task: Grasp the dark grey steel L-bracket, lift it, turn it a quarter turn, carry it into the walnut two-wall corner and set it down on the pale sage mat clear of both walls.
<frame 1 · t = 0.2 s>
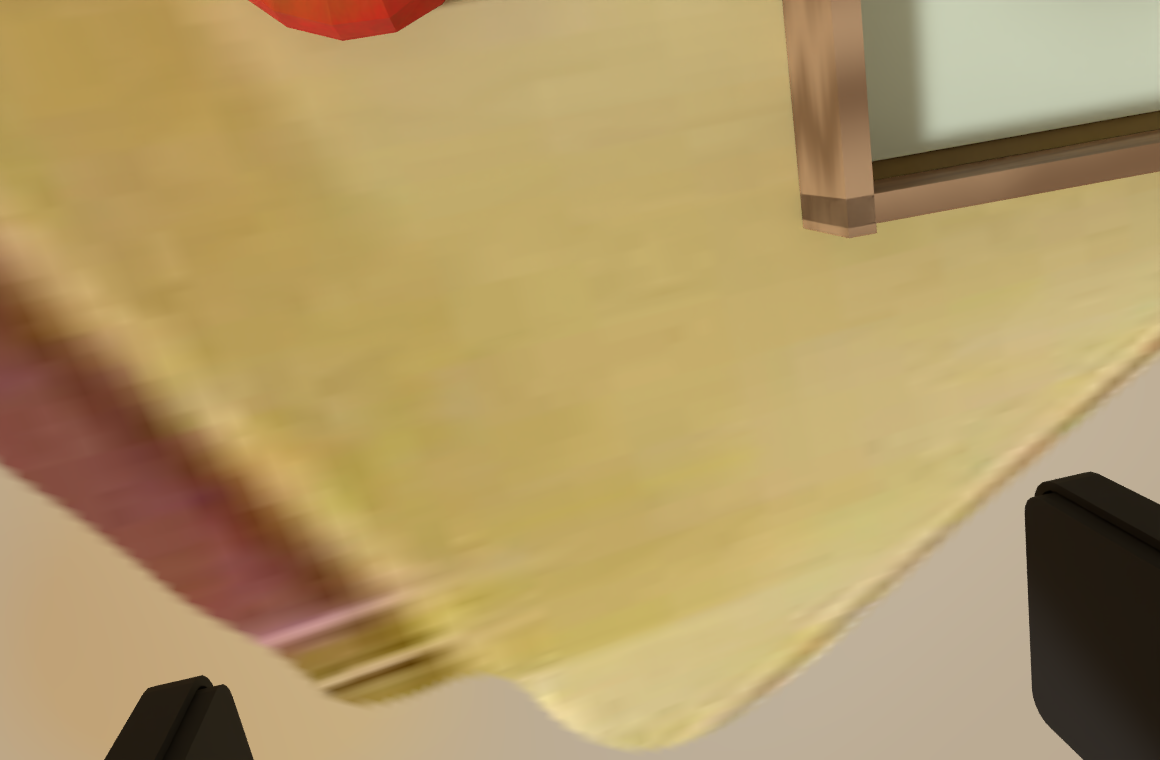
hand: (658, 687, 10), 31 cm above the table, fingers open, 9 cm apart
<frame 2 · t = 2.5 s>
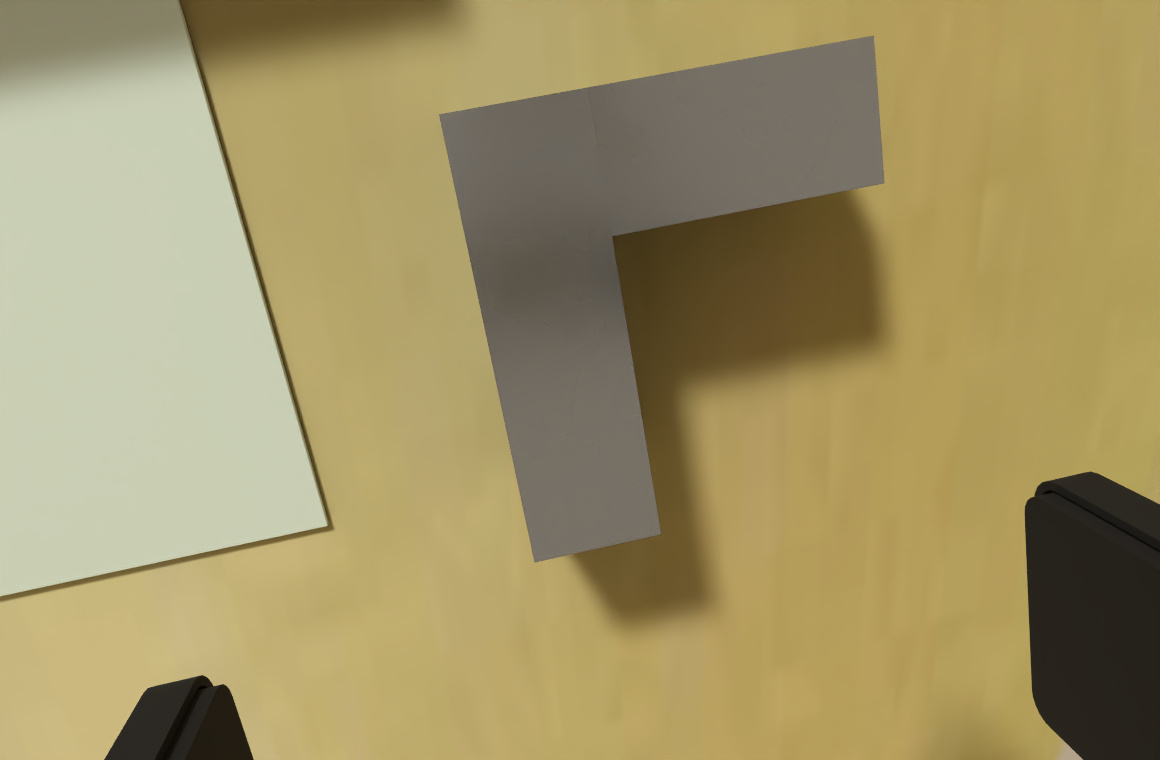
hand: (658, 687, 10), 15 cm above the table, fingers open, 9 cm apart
bracket: (540, 300, 23), on the table
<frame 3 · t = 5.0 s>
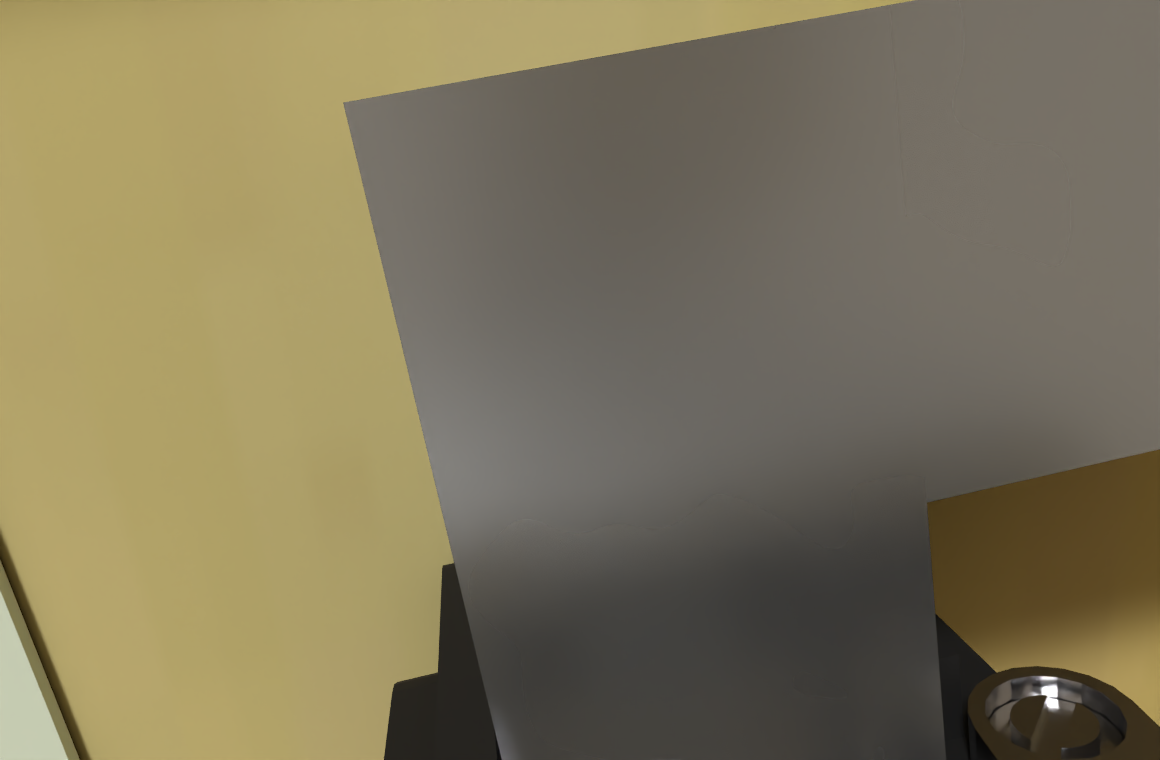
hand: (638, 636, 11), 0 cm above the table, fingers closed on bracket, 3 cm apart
bracket: (616, 520, 11), on the table, touching gripper
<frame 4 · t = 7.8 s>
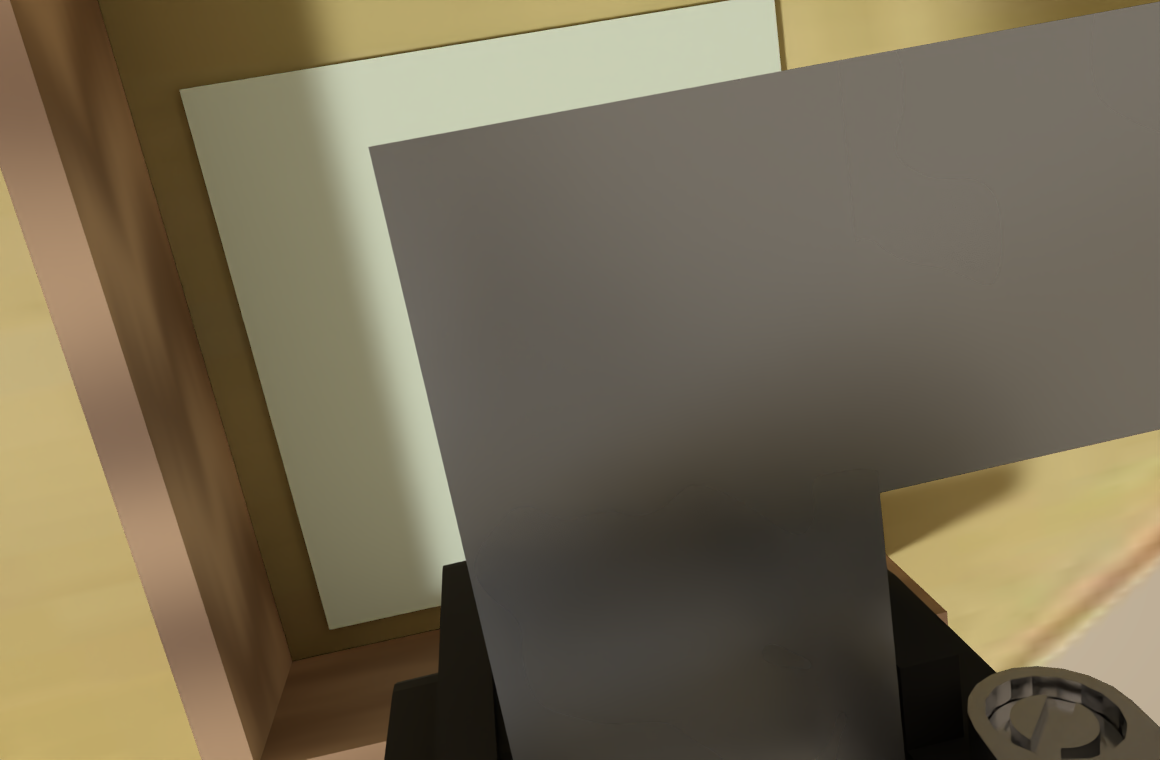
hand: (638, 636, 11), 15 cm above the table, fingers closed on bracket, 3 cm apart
bracket: (610, 517, 12), point 14 cm above the table, touching gripper
mat: (538, 328, 25), on the table
wooden corner frame: (538, 328, 25), on the table
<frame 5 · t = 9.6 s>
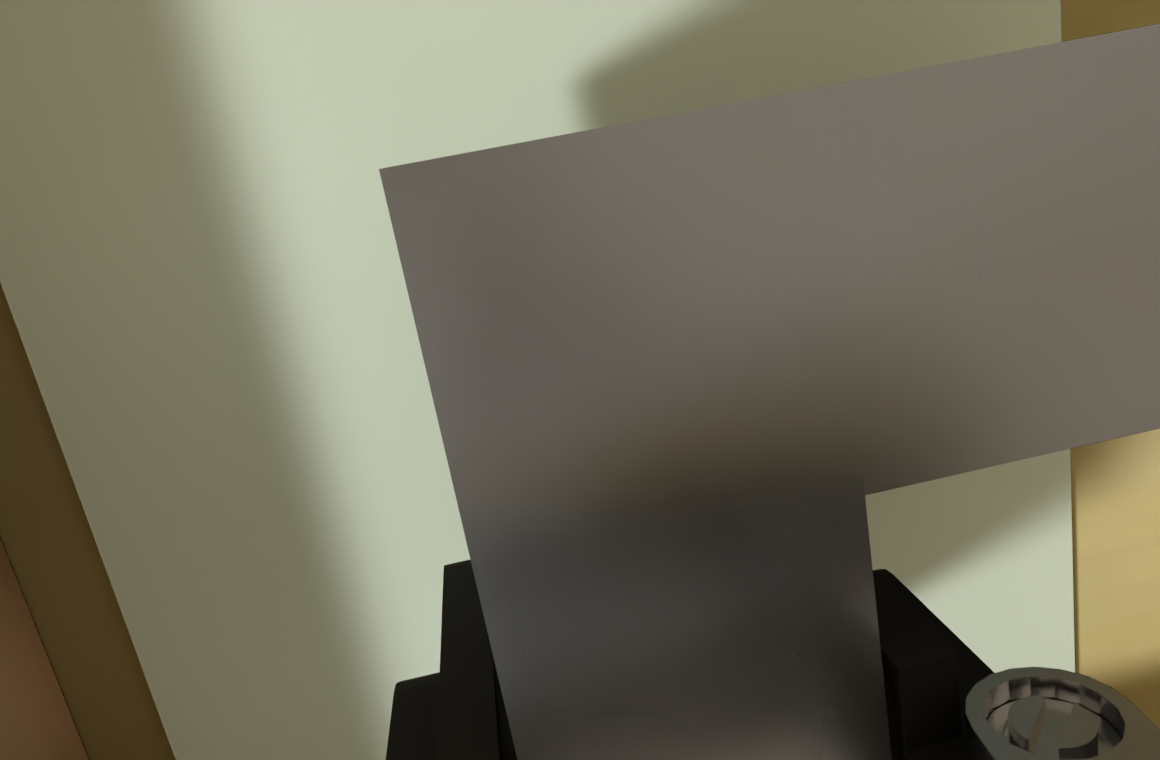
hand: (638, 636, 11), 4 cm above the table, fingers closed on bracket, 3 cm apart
bracket: (609, 519, 12), point 3 cm above the table, touching gripper
mat: (602, 421, 14), on the table
wooden corner frame: (602, 421, 14), on the table
when the fingers open (2 cm above the table, at t = 10.6 s): bracket stays where it is, resting on mat.
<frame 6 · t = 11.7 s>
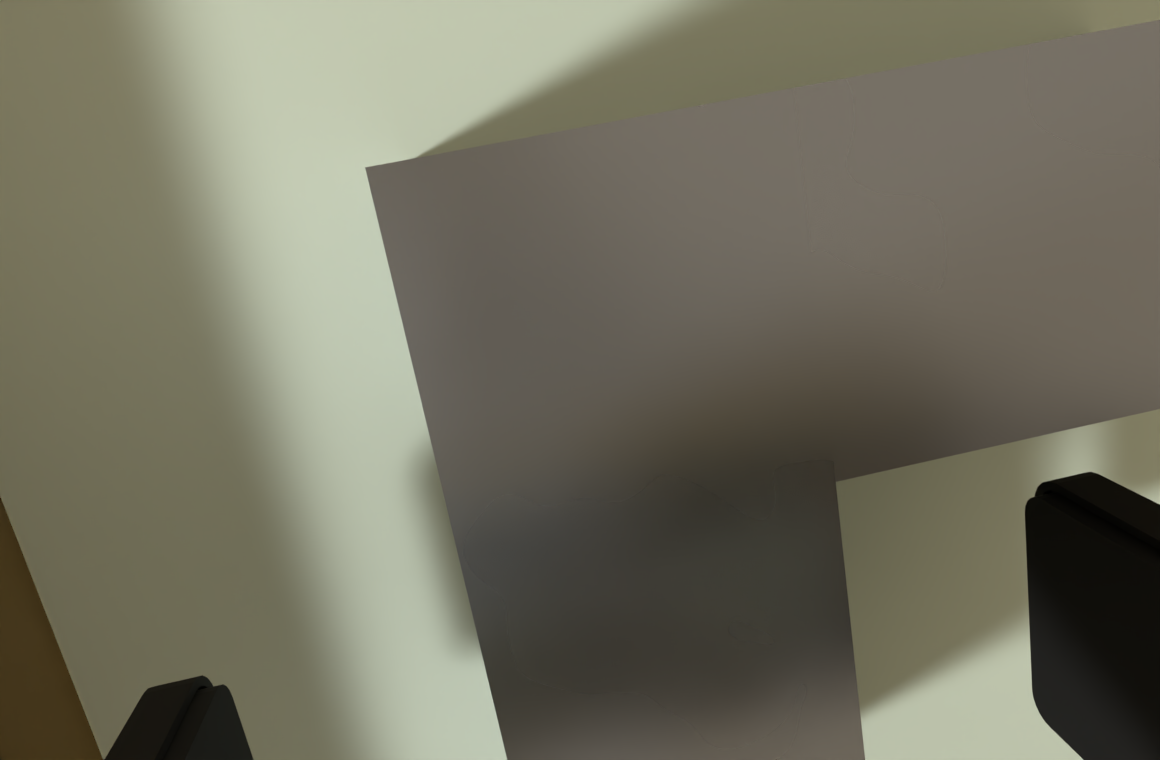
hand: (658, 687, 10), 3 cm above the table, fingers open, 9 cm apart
bracket: (597, 506, 12), resting on mat
mat: (633, 471, 12), on the table
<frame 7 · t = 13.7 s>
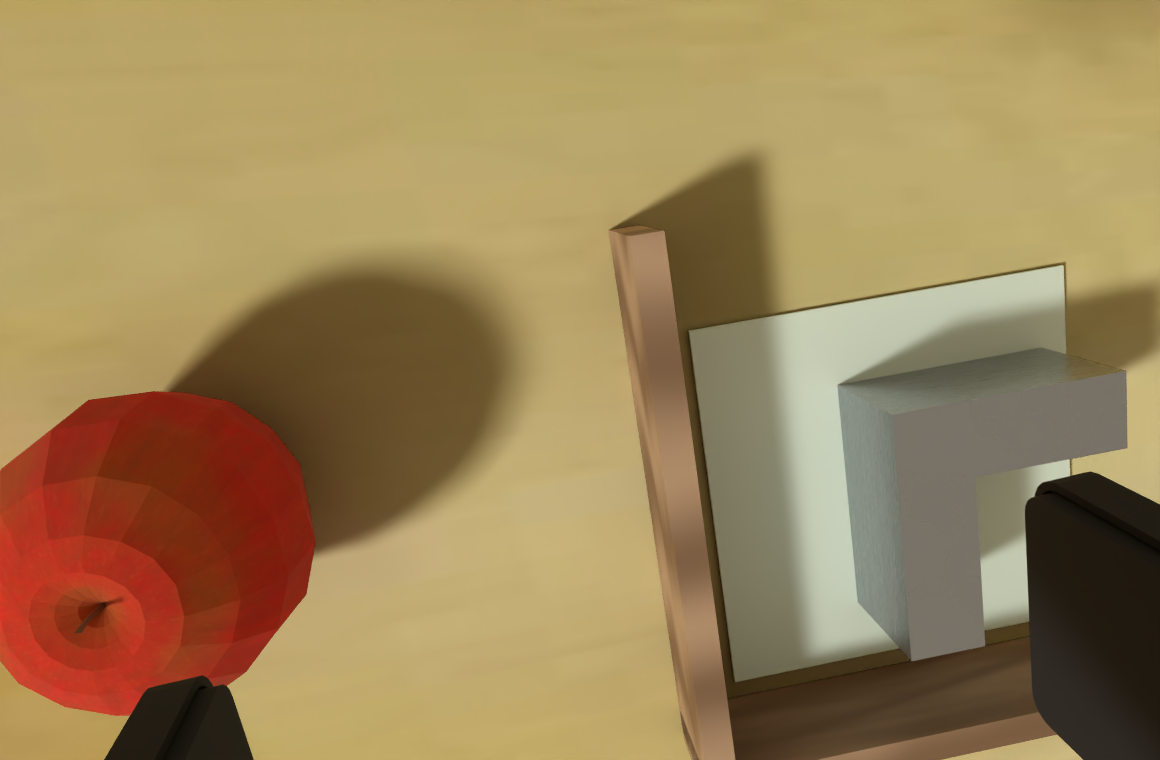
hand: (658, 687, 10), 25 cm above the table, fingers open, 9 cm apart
bracket: (881, 490, 37), resting on mat
apple: (209, 489, 35), on the table
mat: (891, 479, 38), on the table
wooden corner frame: (891, 479, 38), on the table
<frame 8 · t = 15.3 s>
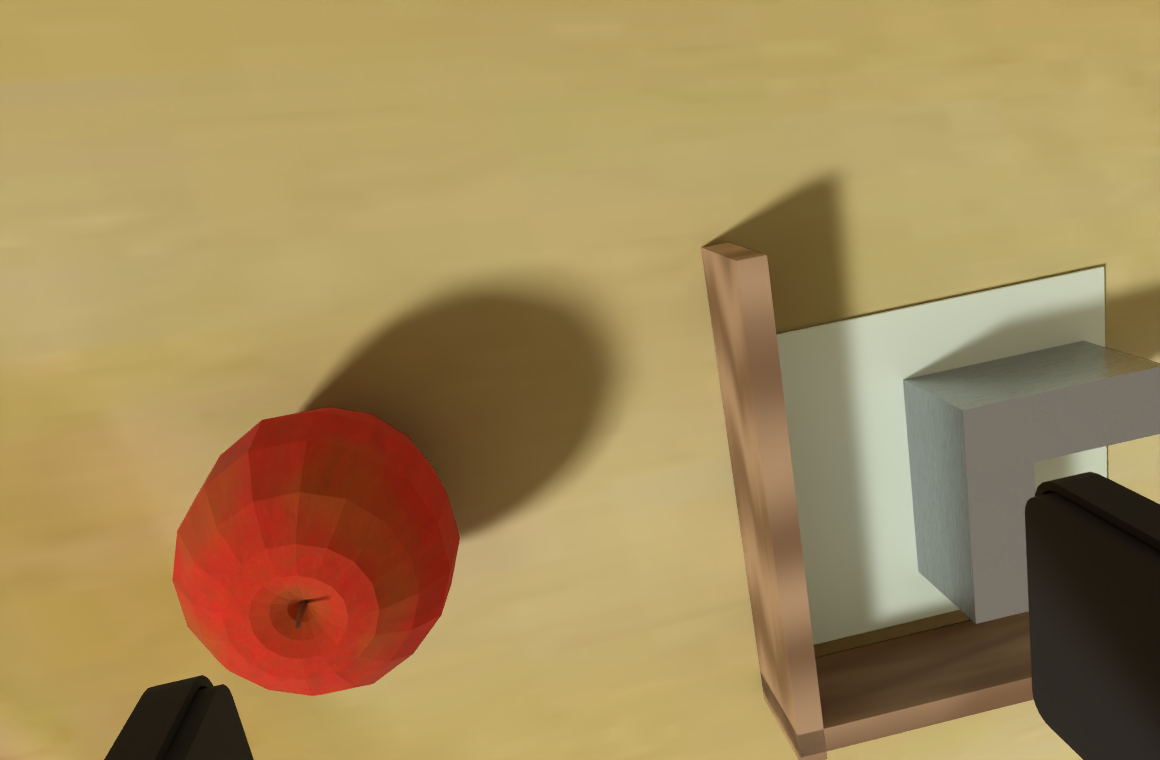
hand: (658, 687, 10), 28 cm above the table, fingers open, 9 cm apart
bracket: (940, 472, 42), resting on mat
apple: (343, 490, 38), on the table
mat: (949, 461, 42), on the table
wooden corner frame: (949, 461, 42), on the table
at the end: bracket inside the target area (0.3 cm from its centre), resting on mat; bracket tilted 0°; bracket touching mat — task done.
